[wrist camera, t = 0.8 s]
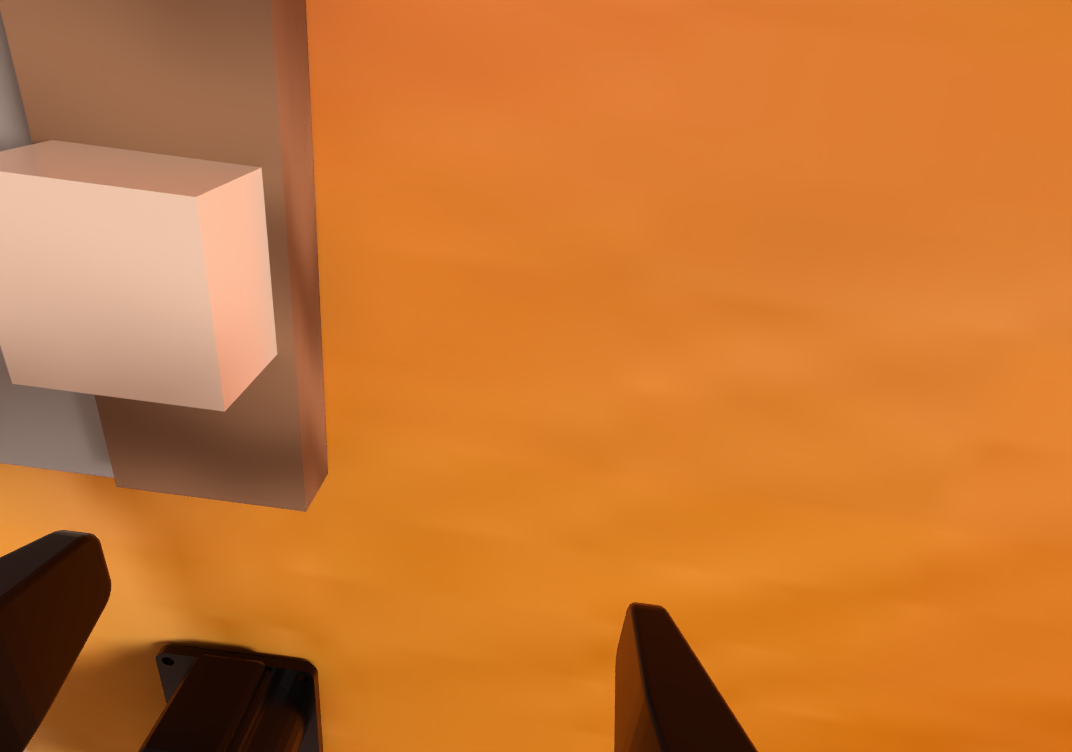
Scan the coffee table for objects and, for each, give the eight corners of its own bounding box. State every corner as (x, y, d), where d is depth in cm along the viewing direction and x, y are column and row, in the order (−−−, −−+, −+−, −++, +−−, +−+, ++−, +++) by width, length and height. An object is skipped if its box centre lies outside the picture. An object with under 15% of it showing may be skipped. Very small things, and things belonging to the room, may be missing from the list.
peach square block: (277, 354, 18) (224, 411, 15) (96, 330, 18) (12, 383, 15) (261, 167, 16) (196, 197, 13) (51, 140, 15) (-57, 164, 13)
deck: (328, 473, 22) (305, 511, 21) (153, 449, 22) (116, 486, 21) (300, -99, 15) (262, -116, 13) (34, -134, 15) (-40, -156, 13)
